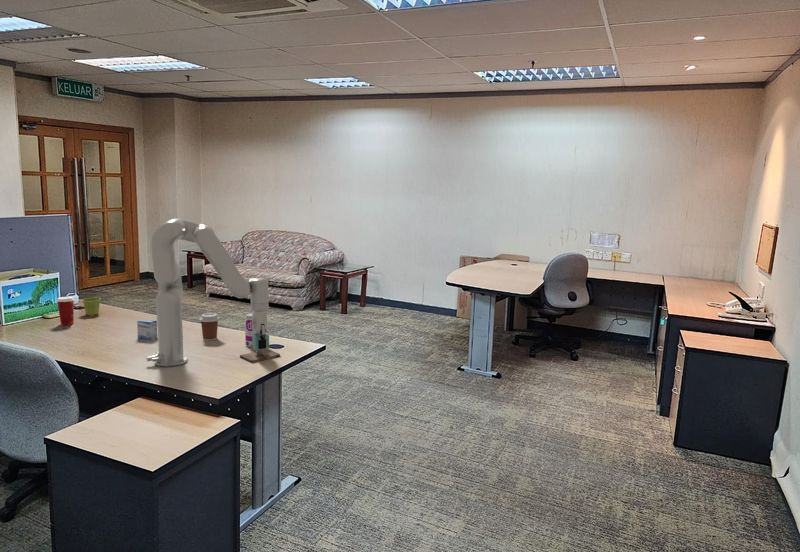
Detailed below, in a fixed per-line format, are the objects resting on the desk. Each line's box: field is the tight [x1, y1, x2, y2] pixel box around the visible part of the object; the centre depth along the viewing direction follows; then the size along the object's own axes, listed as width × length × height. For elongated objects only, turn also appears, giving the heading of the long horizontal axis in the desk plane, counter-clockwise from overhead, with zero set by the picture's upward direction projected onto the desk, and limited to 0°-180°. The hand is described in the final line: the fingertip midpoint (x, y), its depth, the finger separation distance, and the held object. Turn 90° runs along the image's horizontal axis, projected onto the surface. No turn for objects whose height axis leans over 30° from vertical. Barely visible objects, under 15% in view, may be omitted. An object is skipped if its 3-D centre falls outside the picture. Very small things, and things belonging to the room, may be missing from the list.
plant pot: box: [81, 297, 102, 316], centre depth 301 cm, size 9×9×9 cm
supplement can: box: [244, 312, 255, 348], centre depth 252 cm, size 8×8×15 cm
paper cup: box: [56, 296, 75, 326], centre depth 279 cm, size 8×8×14 cm
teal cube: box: [252, 332, 270, 351], centre depth 235 cm, size 6×6×6 cm
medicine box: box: [136, 318, 158, 340], centre depth 259 cm, size 8×4×9 cm, turn 76°
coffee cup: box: [198, 312, 220, 342], centre depth 260 cm, size 9×9×12 cm
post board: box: [239, 348, 281, 364], centre depth 236 cm, size 14×10×6 cm
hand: (260, 345), depth 235 cm, fingers closed on teal cube, 6 cm apart
